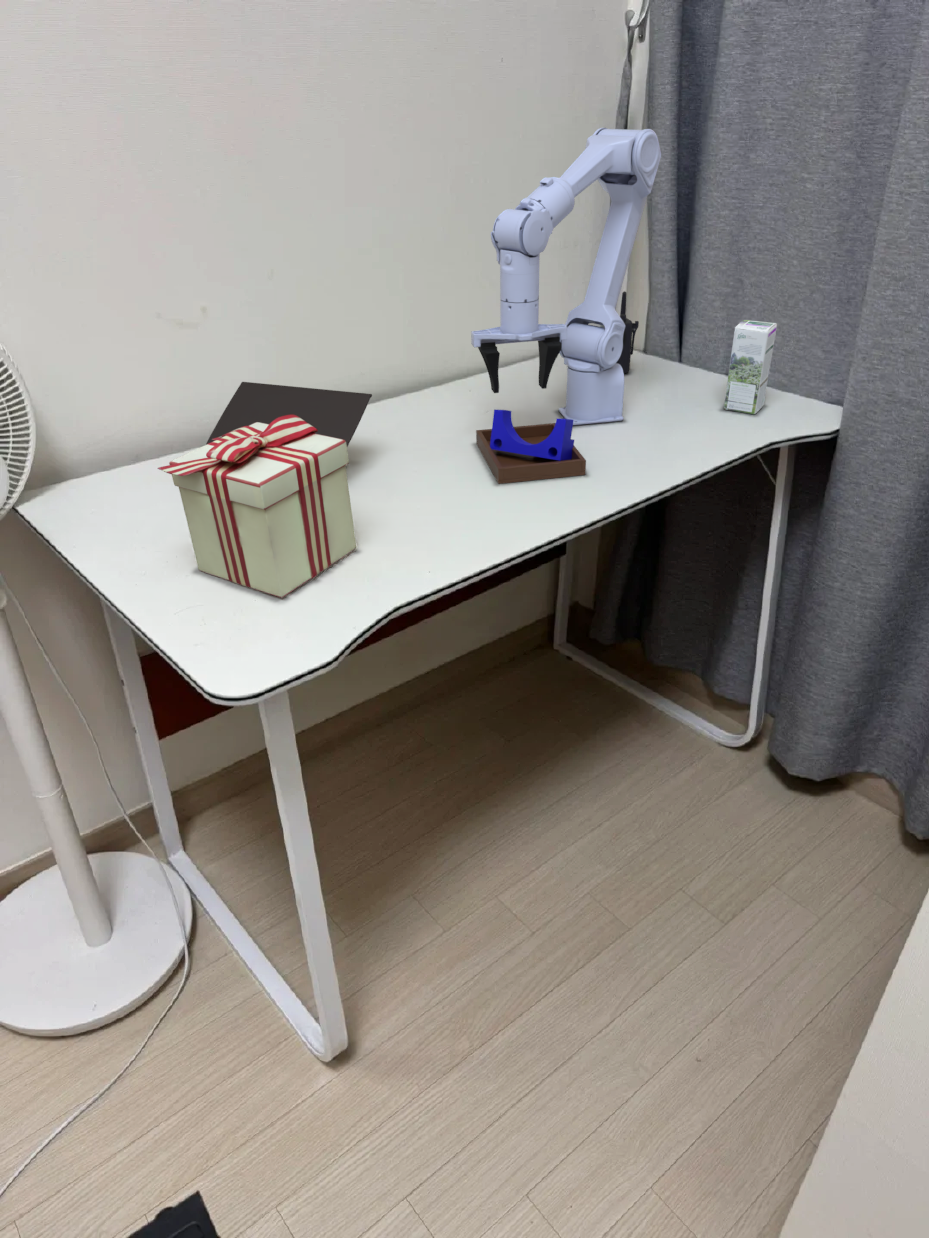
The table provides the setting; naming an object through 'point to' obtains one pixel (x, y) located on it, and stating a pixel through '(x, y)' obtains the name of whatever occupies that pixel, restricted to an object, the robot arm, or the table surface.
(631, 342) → the two-way radio
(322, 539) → the gift box
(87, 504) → the table surface
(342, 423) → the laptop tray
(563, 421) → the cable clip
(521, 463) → the tray
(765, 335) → the syrup box
